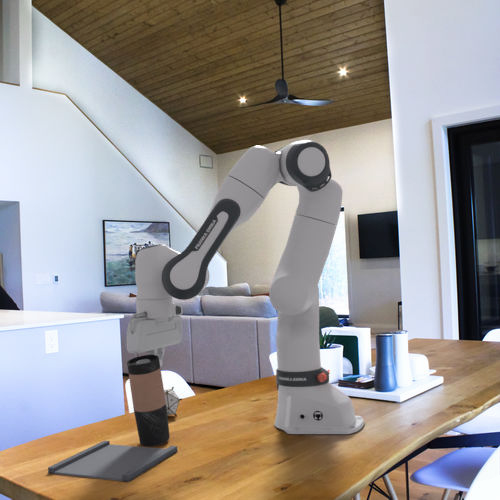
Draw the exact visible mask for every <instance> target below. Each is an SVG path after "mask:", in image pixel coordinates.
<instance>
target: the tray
mask: <svg viewBox="0 0 500 500" xmlns="http://www.w3.org/2000/svg"><path fill="white" fill-rule="evenodd" d="M177 452H178V446H177V445H170V446H169V447H167V448H161V447H158V448H157V447H145V446H134V445H125V444H124V445H123V444H111V443H110V440H102V441H100V442H99V443H96V444H94V445H92V446H90V447H88V448H86V449H84V450H82V451H80V452H78V453H76V454H74V455H71V456H69V457H67V458H65V459H63V460H61V461H58V462H56V463H54V464H53V465H50V466H48V467H47V471H48V472H47V473H48V474H50V475H51V474H52V475H59V476H60V475H61V476H69V477H79V478H80V477H81V478H88V479H89V478H90V479H98V480H107V481H118V482H124V483H125V482H126V483H130V482H131V481H132V480H134V479H136V478H137V477H139V476H141V475H142V474H144V473H145V472H147V471H149V470H150V469H152V468H154V467H156V465H158V464H159V463H161V462H163V461H164V460H167V458H170V457H171V456H173V455H174V454H177Z"/></svg>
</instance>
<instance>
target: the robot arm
mask: <svg viewBox="0 0 500 500" xmlns="http://www.w3.org/2000/svg"><path fill="white" fill-rule="evenodd" d="M277 184H282V185H285V186H287V187H296V188H297V190H298V194H299V195H298V196H299V198H298V205H297V207H296V210H295V214H294V216H293V221H292V223H291V228H290V229H289V230H290V231H289V234H288V238H287V241H286V245H285V246H284V250H283V252H282V254H281V257H280V259H279V261H278V265H277V267H276V271H275V273H274V275H273V279H272V281H271V284H270V287H269V292H268V293H269V294H268V297H269V301H270V304H271V306H272V307H273V308H274V309H275V310H276V311H277V322H276V323H277V326H276V335H275V341H276V343H275V344H276V346H275V347H276V361H277V363H276V364H277V369H276V371H275V373H276V374H275V381H276V382H275V383H276V384H275V385H276V391H277V406H276V407H277V408H276V415H275V421H274V424H273V425H274V427H275V428H278V429H280V430H282V431H284V432H285V433H286V434H288V435H351V434H354V433H356V432H358V431H360V430H361V429H362V428H363V427H364V424H365V421H364V418H363V416H361V415H356V414H355V407H354V405H353V402H352V399H351V398H350V397H349V395H347V394H346V393H344V392H342V390H340V389H339V388H337V387H336V386H334V385H333V384H332V383H331V382H330V374H331V373H330V372H331V371H330V370H331V369H328V370H327V369H325V368H324V367H322V366H321V365H322V364H321V362H322V361H321V346H320V291H319V282H320V280H321V276H322V273H323V270H324V268H325V265H326V262H327V259H328V257H329V255H330V250H331V247H332V243H333V240H334V237H335V234H336V231H337V227H338V223H339V219H340V214H341V211H342V201H343V188H342V186H341V185H340V184H339V183H338V182H337V181H336V180H334V179H333V178H332V171H331V162H330V158H329V153H328V151H327V150H326V148H325V147H324V145H322V144H320V143H319V142H317V141H314V140H309V139H304V140H298V141H294V142H291V143H289V144H288V145H285V146H283V147H281V148H279V149H277V150H275V151H273V150H271V149H270V148H268V147H266V146H261V145H254V146H251V147H249V148H248V149H247V150H246V151H245V152H244V153H243V155H241V157H239V159H238V160H237V161H236V162H235V164H234V165H233V166H232V168H231V170H230V171H229V172H228V173H227V176H226V177H225V178H224V180H223V181H222V183H221V185H220V188H219V189H218V191H217V193H216V196H215V198H214V201H213V204H212V206H211V208H210V211H209V212H208V215H207V217H206V219H205V220H204V222H203V223H202V225H201V226H200V228H199V229H198V231H197V232H196V233H195V235H194V236H193V238H192V239H191V241H190V242H189V244H188V245H187V247H186V248H185V249H184V250H183V251H182V252H180V251H177V250H174V249H173V248H171V247H170V246H168V245H167V244H164V243H161V244H160V243H158V244H151V245H148V246H145V247H142V248H141V249H140V250H139V251H138V252H137V254H136V257H135V272H134V273H135V274H134V275H135V279H134V280H135V281H134V282H135V284H136V285H135V286H136V289H137V292H136V297H135V305H136V306H135V307H136V308H135V309H136V312H135V313H134V314H132V316H131V317H130V319H129V321H128V325H127V329H126V350H127V352H128V354H131V355H132V354H133V355H135V354H136V355H137V354H138V355H139V354H143V353H146V355H156V356H158V357H159V362H160V367H163V365H164V364H163V363H164V362H163V360H164V359H163V358H164V356H165V353H166V347H169V346H173V345H177V344H180V343H181V342H182V340H183V320H182V315H183V311H184V310H183V309H184V308H183V306H181V305H179V304H177V303H176V302H173V298H174V299H176V300H182V301H187V300H190V299H194V298H195V297H197V296H198V295H199V294H200V293H201V292H203V290H204V289H206V287H207V285H208V284H209V281H210V271H209V268H208V267H209V265H210V263H211V262H212V260H213V259H214V257H215V255H216V254H217V252H218V250H219V249H220V248H221V246H222V244H223V243H224V241H225V240H226V238H227V237H228V236H229V235H230V234H231V233H232V232H233V230H235V229H236V228H238V227H239V226H241V225H243V224H244V223H246V222H248V221H249V220H250V219H251V218H252V216H254V214H255V213H256V212H257V211H259V208H260V207H261V205H262V204H263V203H264V202H265V200H266V198H267V196H268V195H269V193H270V191H271V190H272V189H273V188H274V187H275V186H276V185H277Z"/></svg>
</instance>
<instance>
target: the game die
mask: <svg viewBox="0 0 500 500" xmlns="http://www.w3.org/2000/svg"><path fill="white" fill-rule="evenodd" d="M174 389H175V387H174V386H172V387H171V388H169V389H164V394H165V400H166V408H167V417H168V416H175V417H178V415H177V414H176V412H177V409H178V407H179V403H180V401H182V400H183V398H179V396H178V395H177V394H176V392H175V390H174Z"/></svg>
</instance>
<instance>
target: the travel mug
mask: <svg viewBox="0 0 500 500" xmlns="http://www.w3.org/2000/svg"><path fill="white" fill-rule="evenodd" d="M126 365H127V372H128V379H129V386H130V392H131V400H132V401H131V402H132V406H133V407H132V408H133V414H134V418H135V423H136V428H137V434H138V440H139V444H140V445H141V447H149V448H154V447H157V446H158V447H159V446H161V445H163V444H165V443H167V442H168V441H169V440H170V436H171V435H170V426H169V418H168V416H167V408H166V400H165V394H164V390H165V388H164V383H163V377H162V376H163V375H162V369H161V366H160V362H159V357H158V356H156V355H147V354H145V355H139V356H136V357H133V358H131V359H129V360H128V361H127V362H126Z"/></svg>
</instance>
